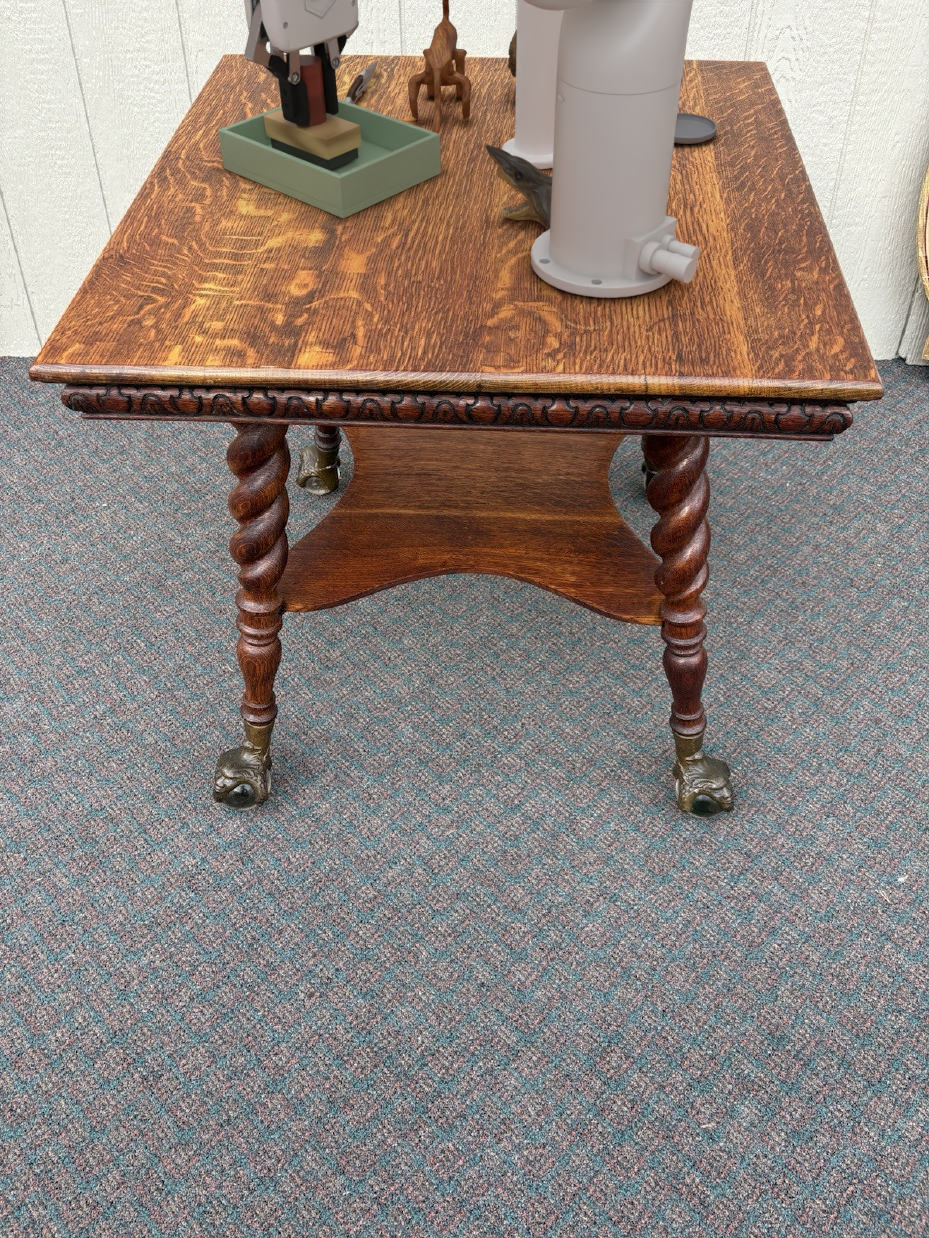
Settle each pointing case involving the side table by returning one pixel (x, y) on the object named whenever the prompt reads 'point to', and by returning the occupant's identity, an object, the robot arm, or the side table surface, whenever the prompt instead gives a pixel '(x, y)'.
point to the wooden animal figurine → (442, 70)
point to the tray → (378, 173)
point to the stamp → (315, 126)
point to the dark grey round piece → (693, 128)
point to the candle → (535, 84)
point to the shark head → (524, 187)
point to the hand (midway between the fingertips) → (311, 115)
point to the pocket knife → (360, 83)
